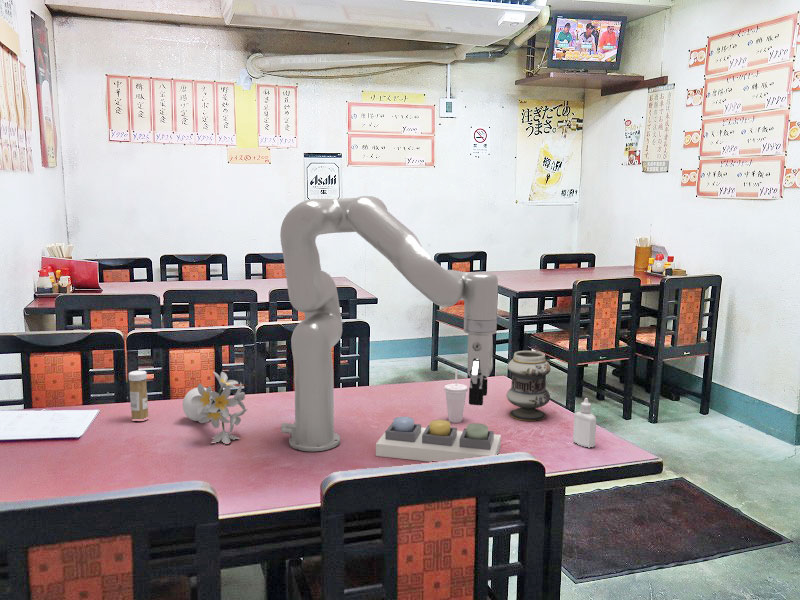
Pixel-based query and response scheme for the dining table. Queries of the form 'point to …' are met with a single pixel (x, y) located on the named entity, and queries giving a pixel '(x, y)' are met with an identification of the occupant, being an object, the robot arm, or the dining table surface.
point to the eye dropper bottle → (584, 426)
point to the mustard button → (439, 428)
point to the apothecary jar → (528, 385)
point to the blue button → (403, 424)
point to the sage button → (477, 431)
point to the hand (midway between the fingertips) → (478, 399)
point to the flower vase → (215, 406)
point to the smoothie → (455, 400)
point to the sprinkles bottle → (138, 394)
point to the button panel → (435, 445)
